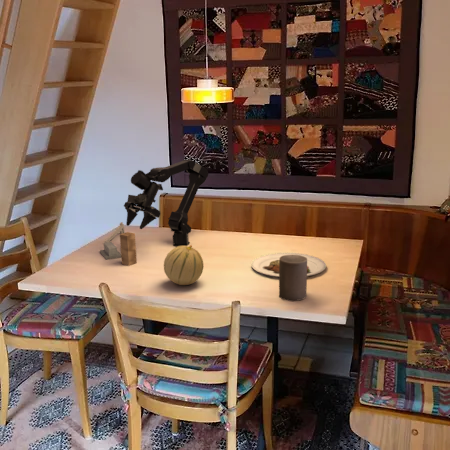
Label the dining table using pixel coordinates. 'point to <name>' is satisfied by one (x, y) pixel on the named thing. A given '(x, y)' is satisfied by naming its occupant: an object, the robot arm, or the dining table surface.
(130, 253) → the walnut post
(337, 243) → the dining table surface
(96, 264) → the dining table surface
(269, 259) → the plated food
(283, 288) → the pillar candle
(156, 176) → the robot arm
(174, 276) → the cantaloupe
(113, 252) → the grey box
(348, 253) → the dining table surface
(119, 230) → the caliper
